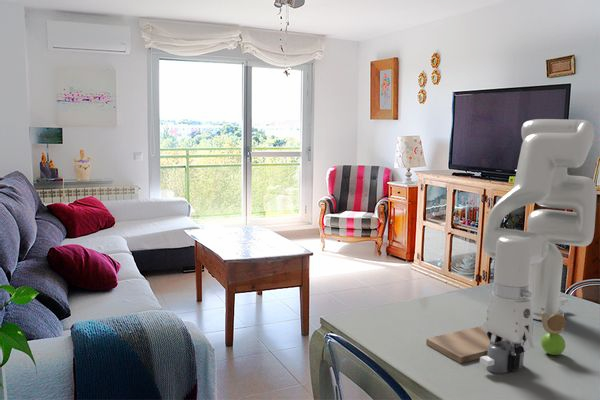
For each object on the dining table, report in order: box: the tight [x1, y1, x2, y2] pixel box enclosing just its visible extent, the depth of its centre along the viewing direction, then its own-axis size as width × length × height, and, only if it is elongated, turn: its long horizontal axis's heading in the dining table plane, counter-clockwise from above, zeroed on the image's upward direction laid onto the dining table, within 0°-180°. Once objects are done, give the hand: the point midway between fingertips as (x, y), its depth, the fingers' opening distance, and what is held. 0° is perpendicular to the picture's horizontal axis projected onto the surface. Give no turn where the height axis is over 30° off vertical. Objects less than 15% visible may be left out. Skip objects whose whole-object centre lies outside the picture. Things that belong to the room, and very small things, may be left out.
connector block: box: [479, 340, 525, 375], centre depth 121 cm, size 12×4×6 cm, turn 117°
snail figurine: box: [540, 307, 566, 356], centre depth 129 cm, size 5×6×12 cm
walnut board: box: [425, 325, 505, 364], centre depth 134 cm, size 20×12×2 cm, turn 118°
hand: (504, 365), depth 122 cm, fingers closed on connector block, 3 cm apart
